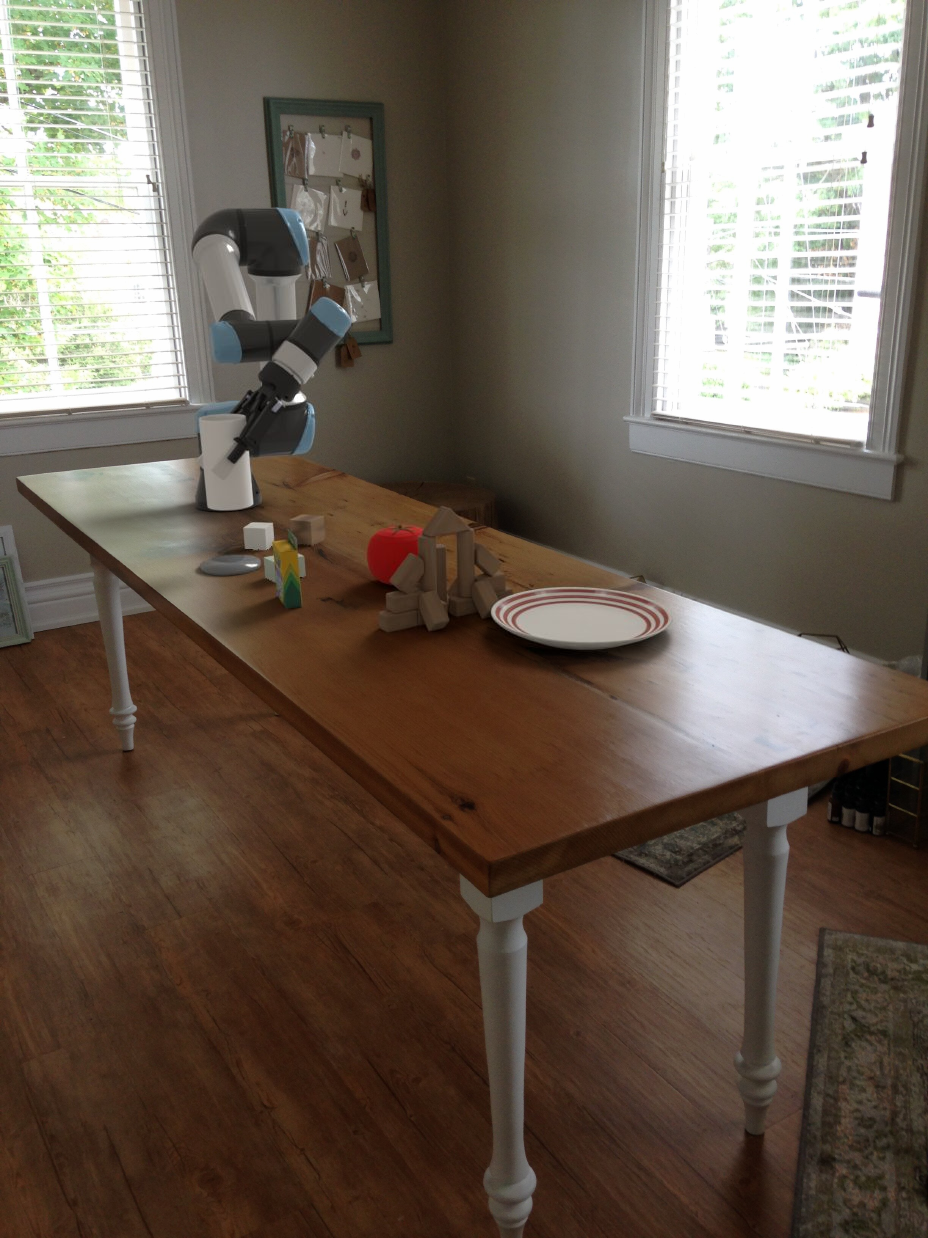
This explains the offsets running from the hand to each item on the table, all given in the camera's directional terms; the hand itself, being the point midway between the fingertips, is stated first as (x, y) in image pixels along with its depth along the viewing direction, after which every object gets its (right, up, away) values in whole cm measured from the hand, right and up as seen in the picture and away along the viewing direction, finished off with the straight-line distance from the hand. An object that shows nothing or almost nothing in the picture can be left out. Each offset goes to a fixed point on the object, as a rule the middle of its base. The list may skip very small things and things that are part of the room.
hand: (209, 470), depth 187 cm
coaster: (+2, -17, +8) cm, 19 cm away
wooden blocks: (+44, -26, -20) cm, 55 cm away
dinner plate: (+64, -29, -27) cm, 75 cm away
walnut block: (+14, -11, +24) cm, 30 cm away
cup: (+3, -6, +4) cm, 8 cm away
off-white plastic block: (+5, -12, +21) cm, 25 cm away
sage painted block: (+14, -19, +1) cm, 24 cm away
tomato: (+35, -20, -3) cm, 40 cm away
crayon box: (+17, -24, -12) cm, 32 cm away
